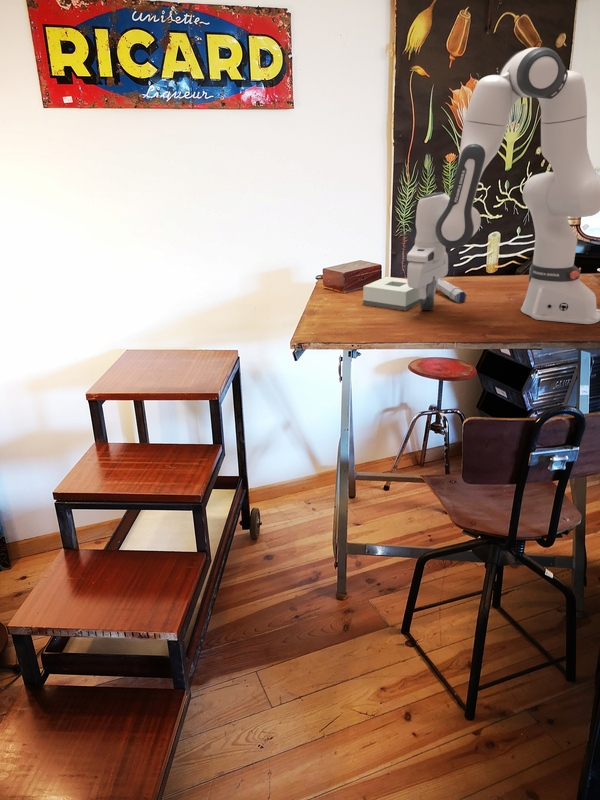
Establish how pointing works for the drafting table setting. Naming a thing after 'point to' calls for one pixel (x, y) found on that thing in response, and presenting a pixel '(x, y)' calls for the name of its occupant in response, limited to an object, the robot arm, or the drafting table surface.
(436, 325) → the drafting table surface
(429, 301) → the dark grey upright bar
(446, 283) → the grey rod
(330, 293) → the drafting table surface
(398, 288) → the socket block
